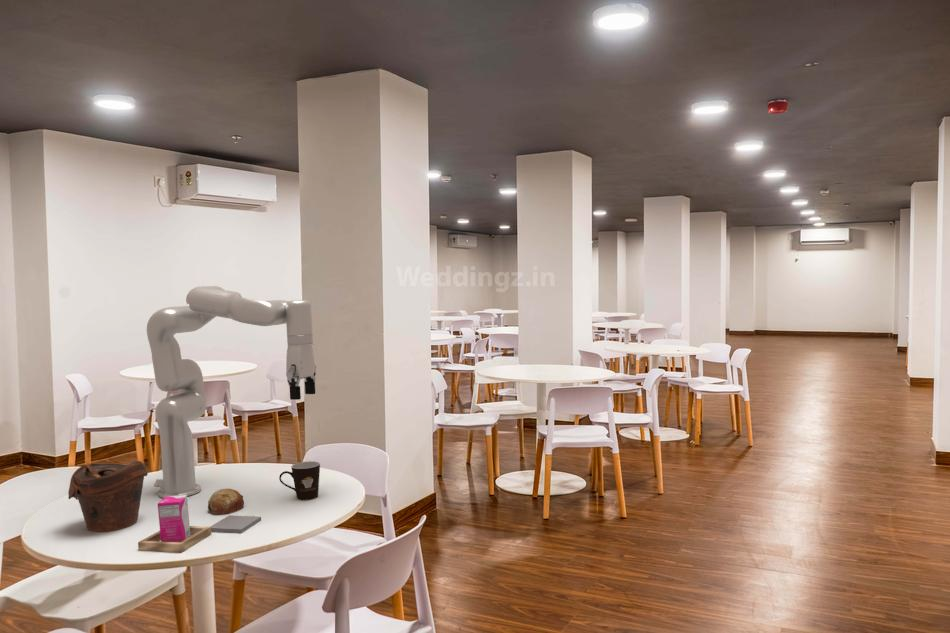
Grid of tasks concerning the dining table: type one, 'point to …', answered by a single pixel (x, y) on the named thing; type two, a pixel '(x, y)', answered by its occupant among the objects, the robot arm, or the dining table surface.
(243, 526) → the stone pad
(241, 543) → the dining table surface
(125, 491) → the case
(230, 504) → the bread roll
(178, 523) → the supplement box
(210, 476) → the dining table surface
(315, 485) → the coffee mug
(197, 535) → the oak pocket frame
